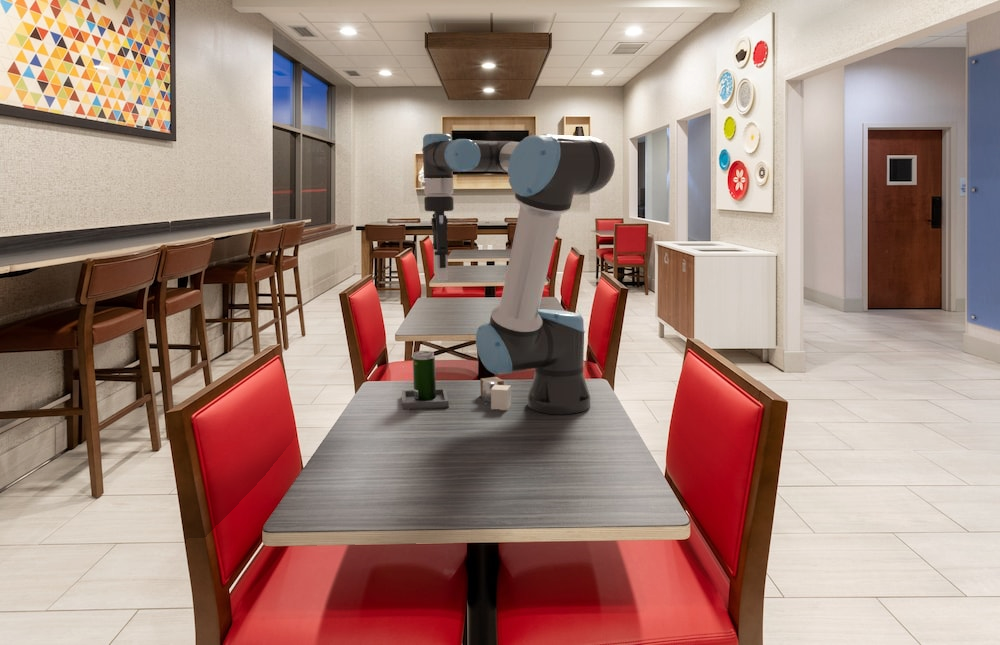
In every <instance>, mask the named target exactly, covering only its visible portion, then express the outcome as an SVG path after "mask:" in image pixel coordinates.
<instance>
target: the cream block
mask: <svg viewBox="0 0 1000 645" xmlns="http://www.w3.org/2000/svg"><path fill="white" fill-rule="evenodd" d="M511 386H512V385H510V384H509V385H508V384H504V385H494V386H493V387H492V389H491V404H490V410H493V409H500V410H499V411H508V410H509V408H511V406H510V405H511V404H512V399H511V398H512V390H511Z"/></svg>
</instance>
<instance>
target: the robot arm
mask: <svg viewBox="0 0 1000 645" xmlns="http://www.w3.org/2000/svg"><path fill="white" fill-rule="evenodd" d="M421 151H422V165H423V166H422V167H423V182H421V186H422V187H424V188H423V189H424V191H423V194H425V195H426V196H425V197H424V198H423V199H424V200H423V201H424V210H425V211H426V212H434V213H432V218H431V225H432V226H431V230H432V248H433V251H432V252H433V274H434V275H436V276H437V277H436V278H437V280H436V281H438V282H441V281H443V282H446V281H447V282H448V281H449V262H448V261H449V259H448V258H449V257H448V253H449V248H448V222H449V221H448V218H447V215H446V214H445V212H453V210H454V209H455V208H454V205H455V204H454V197H453V196H452V195H453V194H454V174H453V173H454V172H457V173H461V172H464V173H465V172H502V173H507V175H508V176H509V178H508V182H509V186H510V189H512V191H513V192H514V193H515V194H514V199H515V200H516V201H517V203H518V205H519V210H518V216H517V220H516V226H515V231H514V235H513V241H512V245H511V251H510V256H509V259H508V260H509V261H508V264H507V269H506V274H505V279H504V284H503V289H502V295H501V300H500V304H499V305H498V306H496V307H494V308H493V309H492V310H491V314H490V319H489V322H487V323H486V322H485V323H482V324H481V325H480V326H478V328H477V330H476V335H475V344H476V351H477V353H478V357H479V359H480V362H481V363H482V365H483V366H484V368H485V369H486V370H487V371H488V372H490V373H492V374H494V375H503V374H507V375H509V374H511V373H516V372H520V371H526V370H533V369H534V376H533V379H532V382H531V385H530V389H529V391H528V394H527V406H528V408H529V409H530V410H533V411H535V412H539V413H542V414H550V415H569V414H570V415H571V414H572V415H573V414H577V413H582V412H585V411H587V410H589V409H590V408H591V394H590V390H589V389H588V388H589V387H588V384H587V382H586V379H585V376H584V358H585V357H584V352H585V351H584V350H585V349H584V348H585V347H584V346H585V344H584V343H585V327H584V326H585V325H584V318H583V316H582V315H581V314H579V313H577V312H572V311H567V310H559V309H546V308H545V309H544V308H541V309H540V307H541V301H542V297H543V292H544V289H545V285H546V280H547V276H548V273H549V268H550V263H551V258H552V254H553V250H554V246H555V243H556V242H555V241H556V238H557V235H558V234H557V233H558V229H559V226H560V222H561V221H560V220H561V217H562V215H564V214H565V213H566V212H568V211H570V209H571V207H572V203H573V199H574V195H588V194H589V195H590V194H592V193H596V192H598V191H600V190H602V189H603V188H604V187H606V186H607V184H608V183H609V182H610V181H611V179H612V177H613V175H614V172H615V168H616V167H615V166H616V163H615V156H614V154H613V151H612V150H611V148H610V146H608V144H607V143H606V142H604V141H603V140H601V139H599V138H596V137H593V136H585V135H584V136H583V135H582V136H577V135H559V134H557V135H556V134H548V133H543V134H536V135H528V136H526V137H524V138H523V139H522V140H520V141H514V140H474V139H472V140H471V139H467V138H457V139H454V140H453V137H452V135H451V134H450V133H427V134H424V135H423V137H422V149H421Z"/></svg>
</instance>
